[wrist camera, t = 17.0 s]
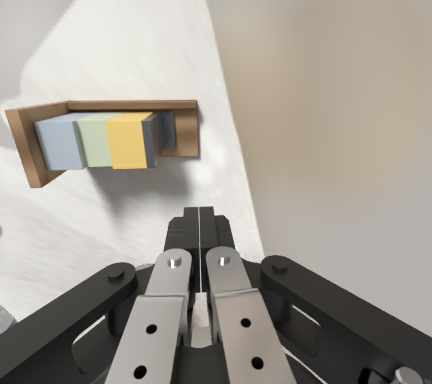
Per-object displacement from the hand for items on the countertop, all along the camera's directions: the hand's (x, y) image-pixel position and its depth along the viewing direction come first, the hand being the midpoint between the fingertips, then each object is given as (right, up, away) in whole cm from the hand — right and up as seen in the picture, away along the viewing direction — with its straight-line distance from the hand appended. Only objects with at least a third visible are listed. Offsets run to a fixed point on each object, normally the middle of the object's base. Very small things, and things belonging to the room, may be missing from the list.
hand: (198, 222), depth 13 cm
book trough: (-12, +11, +26) cm, 31 cm away
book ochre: (-10, +11, +25) cm, 29 cm away
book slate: (-18, +11, +24) cm, 32 cm away
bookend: (-8, +11, +25) cm, 28 cm away
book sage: (-14, +11, +25) cm, 30 cm away
